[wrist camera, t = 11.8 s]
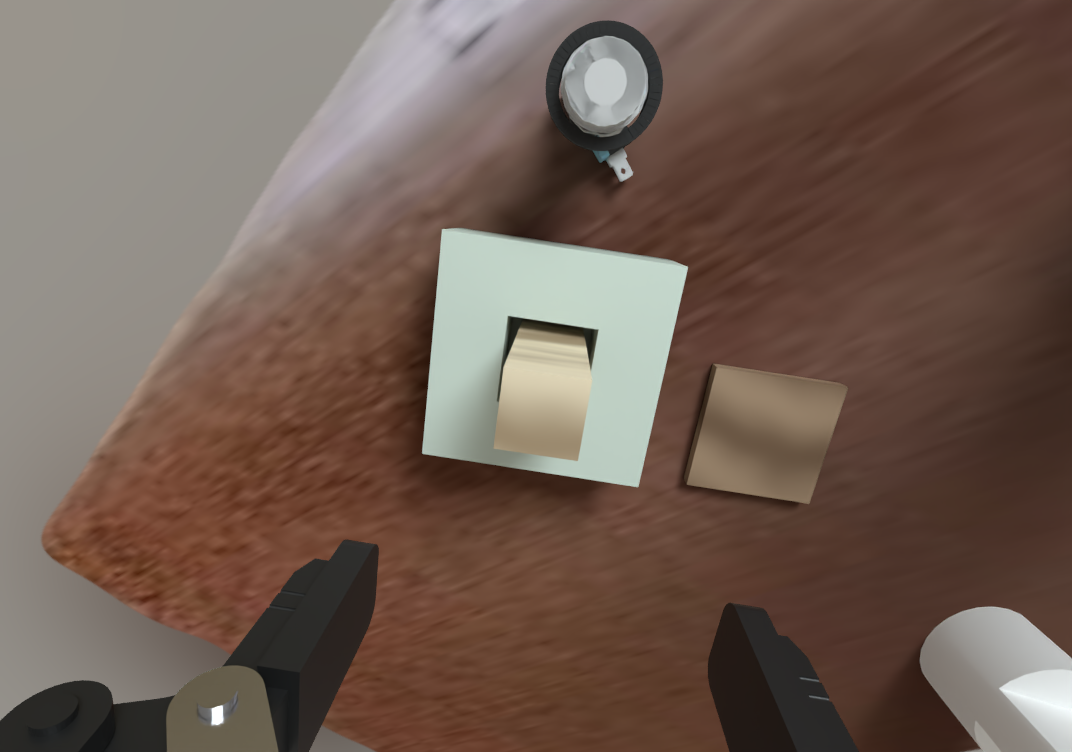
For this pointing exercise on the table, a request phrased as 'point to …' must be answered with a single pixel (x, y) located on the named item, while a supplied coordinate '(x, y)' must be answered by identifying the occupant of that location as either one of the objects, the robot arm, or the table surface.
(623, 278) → the socket block
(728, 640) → the robot arm
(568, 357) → the pin
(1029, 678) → the cylinder with rectangular tab
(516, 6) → the table surface
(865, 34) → the table surface
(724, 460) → the coaster
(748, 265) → the table surface
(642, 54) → the push button
